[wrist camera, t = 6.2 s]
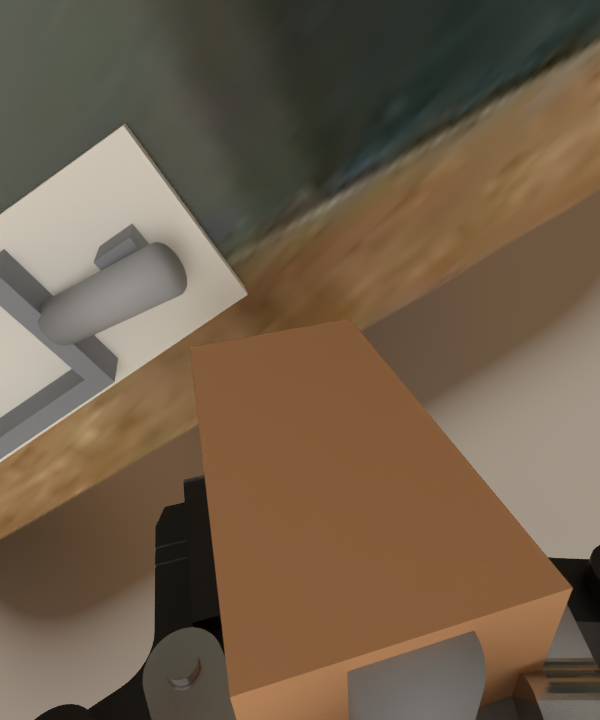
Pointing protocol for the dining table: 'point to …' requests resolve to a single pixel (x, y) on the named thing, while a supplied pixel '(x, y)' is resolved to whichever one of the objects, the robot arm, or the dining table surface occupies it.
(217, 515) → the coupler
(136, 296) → the shaft rig
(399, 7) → the dining table surface
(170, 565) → the robot arm
